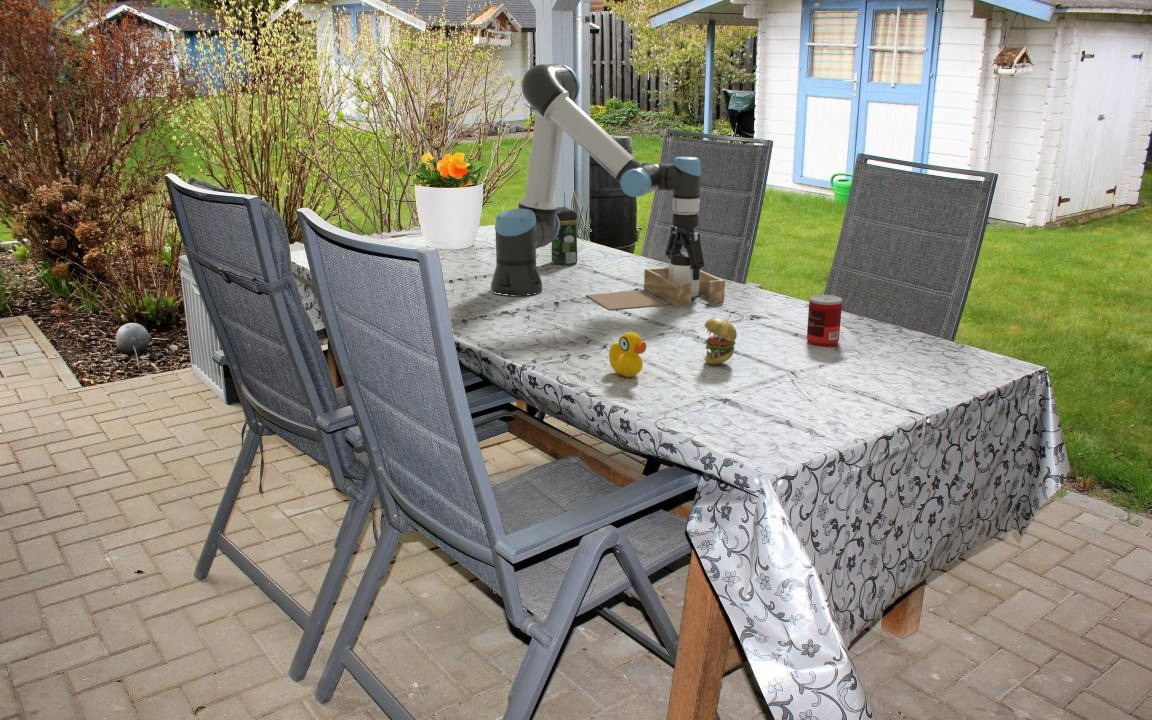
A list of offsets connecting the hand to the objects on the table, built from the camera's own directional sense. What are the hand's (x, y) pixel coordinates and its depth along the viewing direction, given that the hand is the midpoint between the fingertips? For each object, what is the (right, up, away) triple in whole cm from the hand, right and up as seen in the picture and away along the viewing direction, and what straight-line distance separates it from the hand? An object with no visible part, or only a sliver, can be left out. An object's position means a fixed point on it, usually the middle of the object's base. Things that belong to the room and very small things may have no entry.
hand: (683, 285), depth 290 cm
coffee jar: (-35, +11, +45) cm, 58 cm away
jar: (0, -3, +1) cm, 3 cm away
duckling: (-20, -25, -72) cm, 79 cm away
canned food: (+29, -17, -46) cm, 57 cm away
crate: (0, -3, +1) cm, 3 cm away
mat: (-17, -5, -6) cm, 18 cm away
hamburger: (+1, -23, -63) cm, 67 cm away
